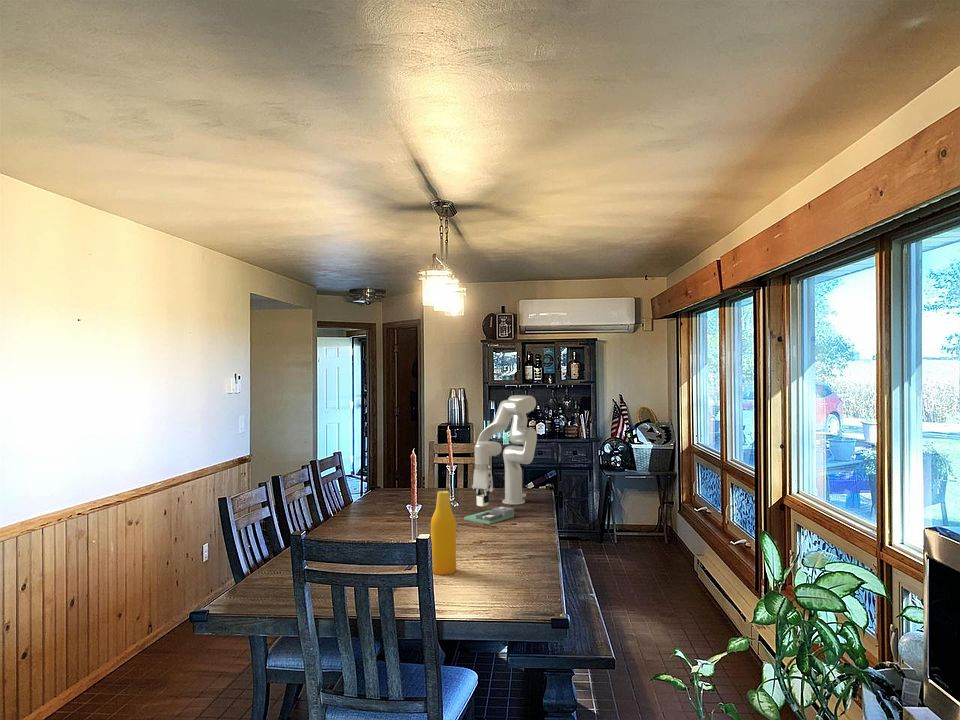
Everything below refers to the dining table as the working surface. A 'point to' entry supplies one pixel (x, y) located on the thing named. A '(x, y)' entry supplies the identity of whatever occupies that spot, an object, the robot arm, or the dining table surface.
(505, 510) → the fan
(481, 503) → the plug
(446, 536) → the beer bottle
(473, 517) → the board
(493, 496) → the dining table surface
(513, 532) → the dining table surface
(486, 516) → the header
